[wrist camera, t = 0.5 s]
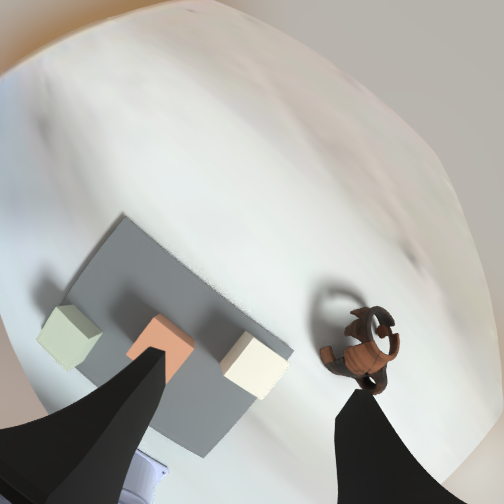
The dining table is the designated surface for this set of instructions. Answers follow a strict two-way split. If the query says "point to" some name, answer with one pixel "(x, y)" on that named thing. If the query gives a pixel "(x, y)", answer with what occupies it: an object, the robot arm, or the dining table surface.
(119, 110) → the dining table surface
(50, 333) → the sage cube
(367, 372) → the dark brown arched piece
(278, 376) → the cream cube
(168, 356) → the terracotta cube
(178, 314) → the board
